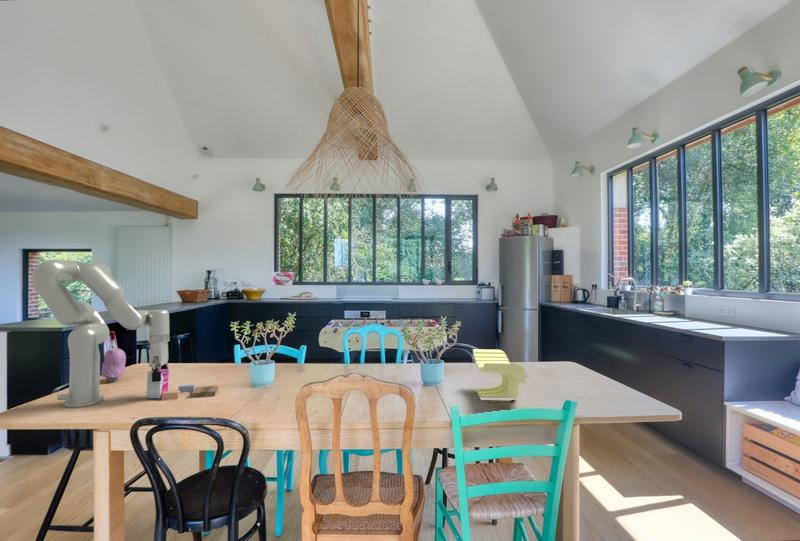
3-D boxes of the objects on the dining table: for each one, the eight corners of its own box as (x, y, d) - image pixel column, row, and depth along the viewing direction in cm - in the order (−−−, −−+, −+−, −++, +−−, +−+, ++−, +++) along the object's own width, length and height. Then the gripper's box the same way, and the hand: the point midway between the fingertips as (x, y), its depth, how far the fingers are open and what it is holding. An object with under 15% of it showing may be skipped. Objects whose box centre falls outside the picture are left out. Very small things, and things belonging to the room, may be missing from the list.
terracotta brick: (161, 400, 157) (162, 393, 157) (164, 398, 160) (164, 391, 160) (177, 399, 159) (178, 392, 159) (180, 397, 161) (180, 390, 162)
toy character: (103, 379, 189) (104, 339, 189) (128, 376, 193) (128, 337, 193) (95, 385, 178) (96, 343, 178) (122, 382, 182) (123, 341, 182)
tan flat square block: (191, 399, 160) (191, 393, 160) (196, 392, 169) (196, 387, 169) (214, 397, 163) (214, 391, 163) (218, 391, 171) (218, 385, 172)
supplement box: (159, 399, 158) (160, 372, 158) (145, 399, 158) (146, 372, 158) (168, 395, 164) (169, 368, 164) (155, 395, 164) (155, 368, 164)
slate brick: (178, 393, 167) (178, 386, 167) (180, 391, 170) (180, 384, 170) (193, 392, 168) (193, 385, 169) (194, 390, 171) (195, 383, 171)
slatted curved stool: (525, 408, 150) (525, 363, 150) (485, 407, 150) (485, 363, 151) (506, 386, 180) (506, 349, 180) (472, 386, 180) (472, 349, 181)
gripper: (155, 336, 168) (156, 374, 168) (142, 342, 152) (143, 385, 152) (174, 335, 171) (175, 372, 171) (163, 341, 154) (164, 382, 154)
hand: (160, 378), depth 161 cm, fingers open, 9 cm apart
